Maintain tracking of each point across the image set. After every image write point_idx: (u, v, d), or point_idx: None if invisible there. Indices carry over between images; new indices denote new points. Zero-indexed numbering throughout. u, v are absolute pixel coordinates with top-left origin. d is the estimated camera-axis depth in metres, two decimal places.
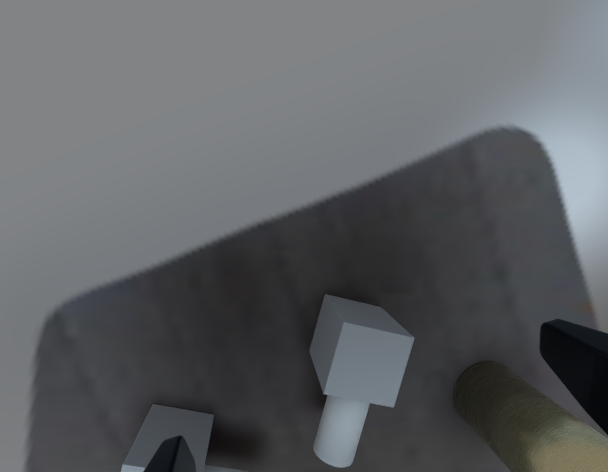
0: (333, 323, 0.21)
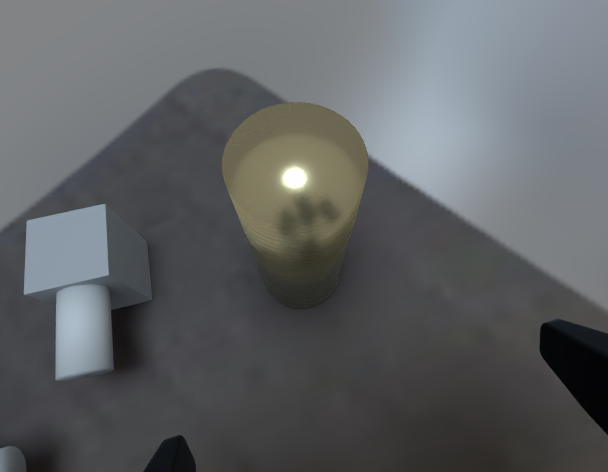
0: None
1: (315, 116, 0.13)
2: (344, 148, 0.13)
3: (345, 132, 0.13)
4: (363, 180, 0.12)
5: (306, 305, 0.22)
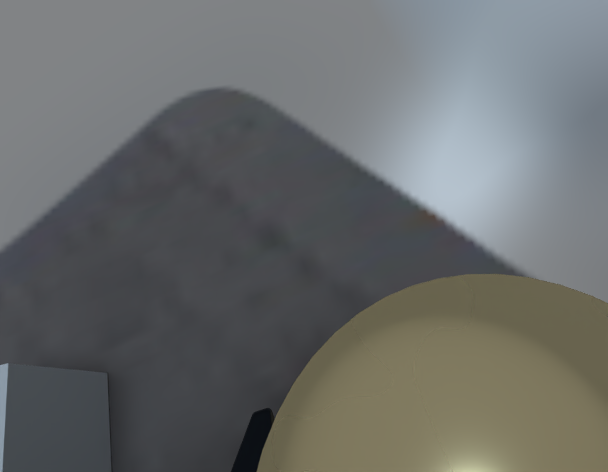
0: None
1: (567, 335, 0.04)
2: None
3: None
4: None
5: None
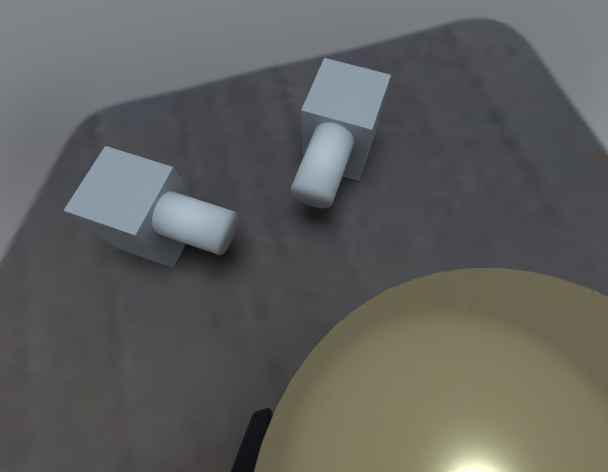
0: None
1: (567, 329, 0.04)
2: None
3: None
4: None
5: None
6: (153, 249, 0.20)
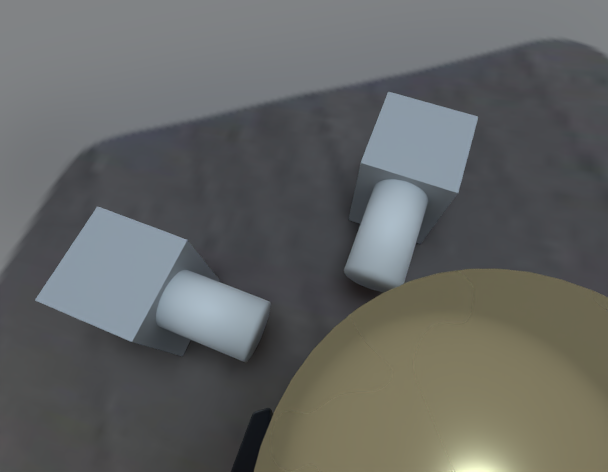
0: None
1: (568, 330, 0.04)
2: None
3: None
4: None
5: None
6: (157, 347, 0.15)
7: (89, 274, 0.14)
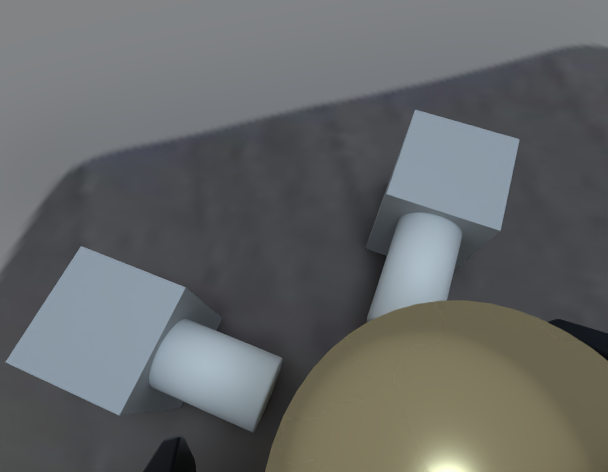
0: (400, 150, 0.16)
1: (518, 352, 0.05)
2: None
3: None
4: None
5: None
6: (150, 409, 0.13)
7: (70, 330, 0.12)
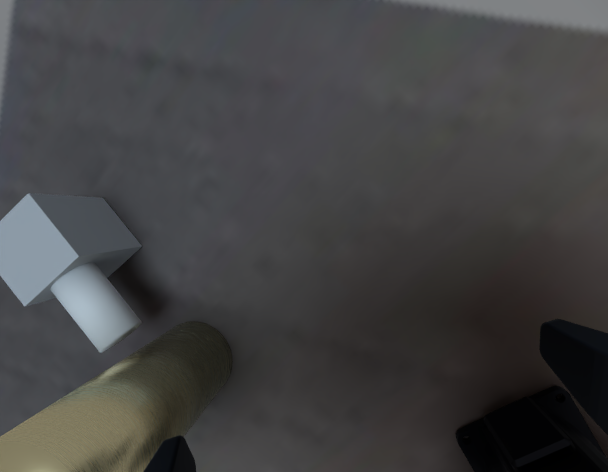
0: None
1: None
2: (28, 467, 0.11)
3: (11, 454, 0.11)
4: None
5: (224, 380, 0.23)
6: None
7: None
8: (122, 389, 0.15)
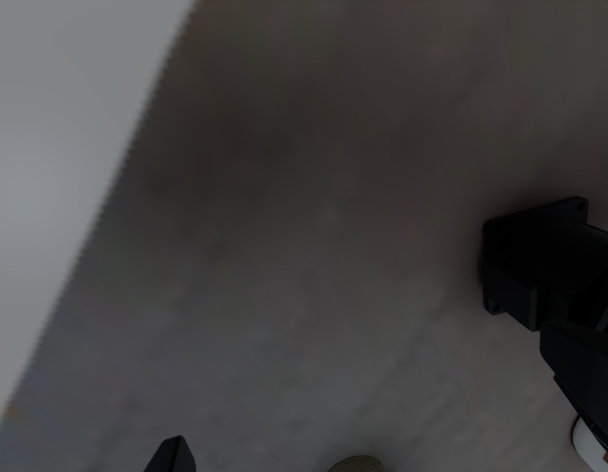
0: None
1: None
2: None
3: None
4: None
5: (379, 469, 0.27)
6: None
7: None
8: None
